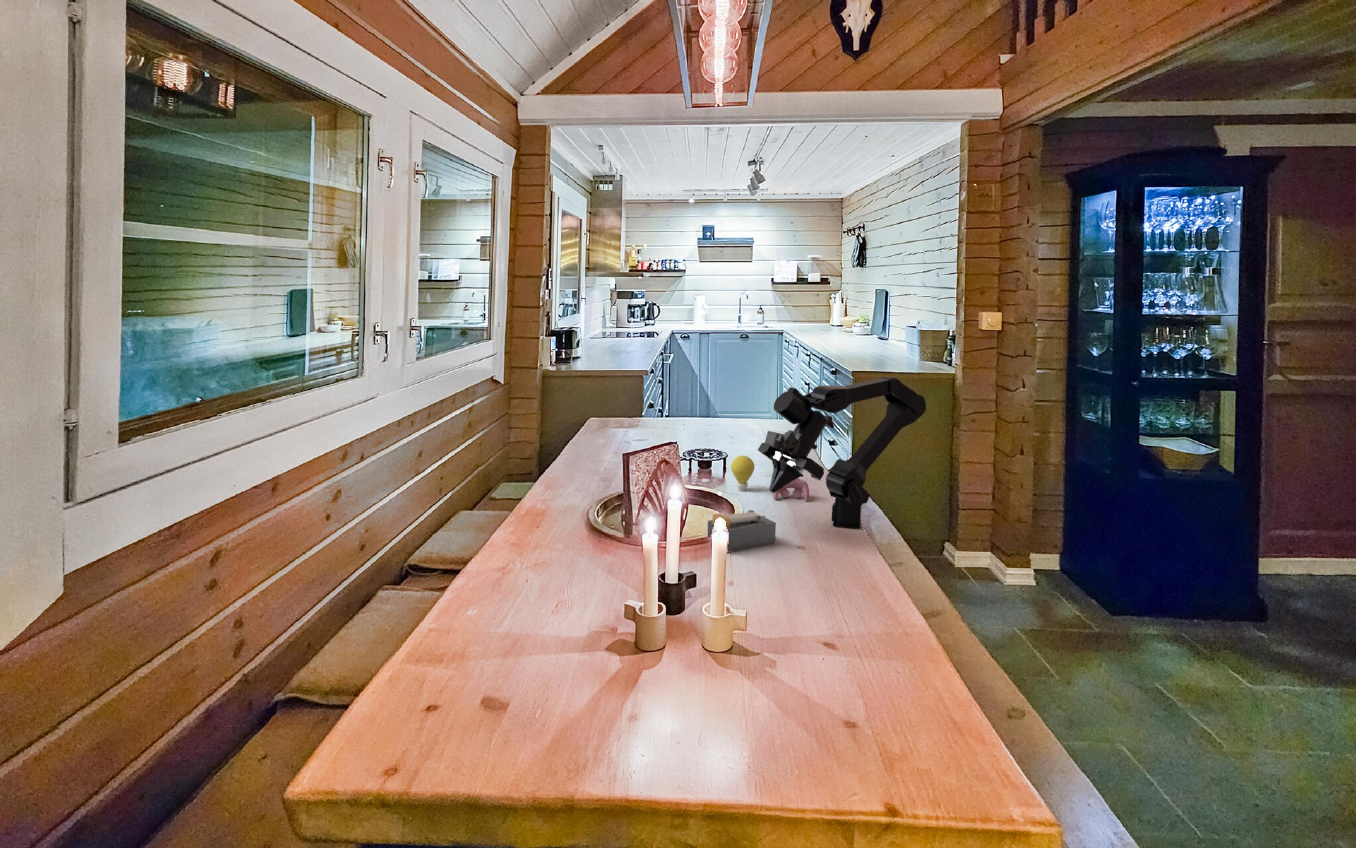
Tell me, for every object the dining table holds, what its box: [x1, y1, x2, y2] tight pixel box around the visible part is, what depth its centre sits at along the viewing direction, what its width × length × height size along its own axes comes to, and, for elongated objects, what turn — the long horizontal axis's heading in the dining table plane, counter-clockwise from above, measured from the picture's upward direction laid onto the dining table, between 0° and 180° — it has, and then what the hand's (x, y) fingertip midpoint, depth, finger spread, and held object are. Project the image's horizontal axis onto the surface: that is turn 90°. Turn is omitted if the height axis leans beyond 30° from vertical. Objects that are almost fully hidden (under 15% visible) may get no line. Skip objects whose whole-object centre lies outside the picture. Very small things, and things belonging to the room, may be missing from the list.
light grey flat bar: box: [723, 511, 762, 523], centre depth 167 cm, size 8×3×1 cm, turn 118°
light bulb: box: [730, 455, 755, 492], centre depth 211 cm, size 7×7×10 cm
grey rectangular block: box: [707, 509, 777, 554], centre depth 167 cm, size 13×8×7 cm, turn 118°
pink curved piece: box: [772, 477, 810, 502], centre depth 203 cm, size 10×5×7 cm, turn 85°
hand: (771, 491), depth 170 cm, fingers closed
